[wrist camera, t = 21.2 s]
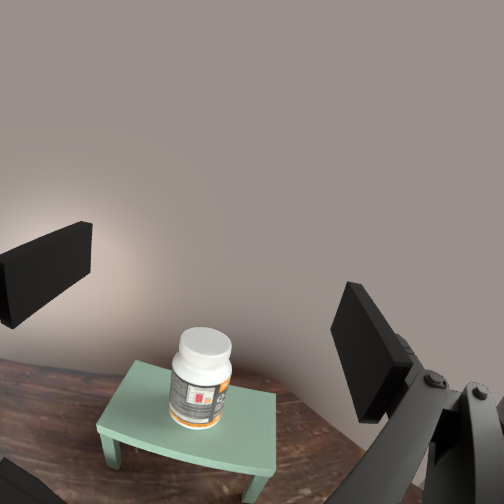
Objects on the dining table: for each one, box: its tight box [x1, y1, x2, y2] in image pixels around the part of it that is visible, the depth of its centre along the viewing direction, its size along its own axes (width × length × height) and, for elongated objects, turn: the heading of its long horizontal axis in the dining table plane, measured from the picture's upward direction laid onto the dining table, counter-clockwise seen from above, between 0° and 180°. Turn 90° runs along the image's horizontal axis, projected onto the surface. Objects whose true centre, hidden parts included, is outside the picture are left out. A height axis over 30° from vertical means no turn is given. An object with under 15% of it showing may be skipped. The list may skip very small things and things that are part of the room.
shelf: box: [96, 360, 276, 504], centre depth 31 cm, size 18×12×9 cm, turn 87°
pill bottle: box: [169, 327, 232, 430], centre depth 28 cm, size 6×6×10 cm
